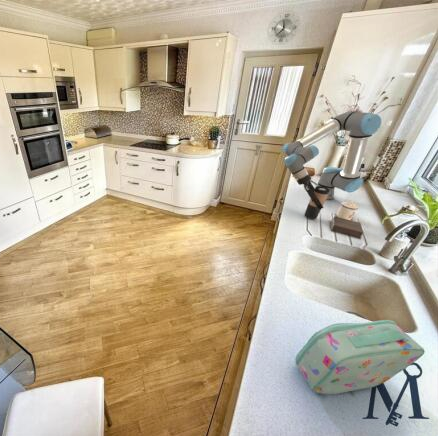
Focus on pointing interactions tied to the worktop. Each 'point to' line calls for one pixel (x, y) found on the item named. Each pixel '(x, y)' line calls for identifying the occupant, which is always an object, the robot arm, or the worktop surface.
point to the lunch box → (356, 356)
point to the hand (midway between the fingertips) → (321, 206)
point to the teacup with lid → (347, 210)
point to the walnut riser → (346, 227)
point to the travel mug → (312, 208)
